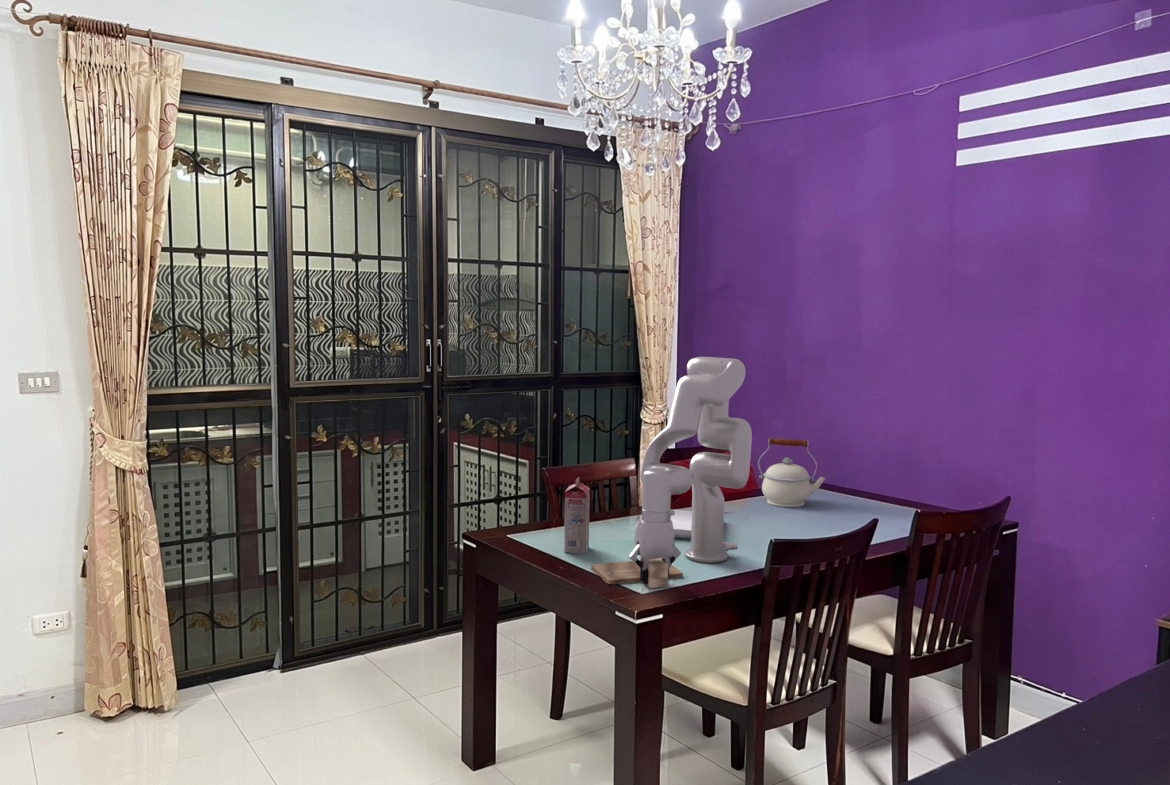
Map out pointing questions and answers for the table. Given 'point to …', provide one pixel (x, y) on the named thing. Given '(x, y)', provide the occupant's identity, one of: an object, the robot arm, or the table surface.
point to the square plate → (680, 523)
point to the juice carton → (576, 518)
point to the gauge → (657, 573)
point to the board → (625, 572)
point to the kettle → (788, 479)
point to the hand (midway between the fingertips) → (654, 581)
